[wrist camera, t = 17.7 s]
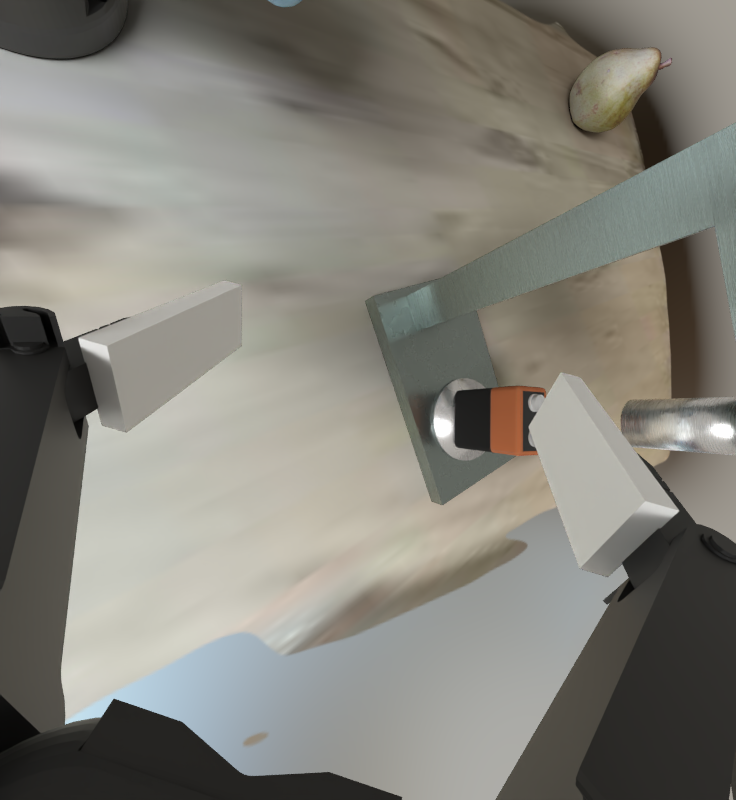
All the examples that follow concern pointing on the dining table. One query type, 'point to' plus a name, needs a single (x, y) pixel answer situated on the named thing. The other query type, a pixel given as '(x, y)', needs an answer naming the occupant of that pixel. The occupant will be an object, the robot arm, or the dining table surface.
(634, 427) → the arbor press
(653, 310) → the dining table surface
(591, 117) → the fruit
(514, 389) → the battery
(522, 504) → the dining table surface
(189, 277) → the dining table surface
